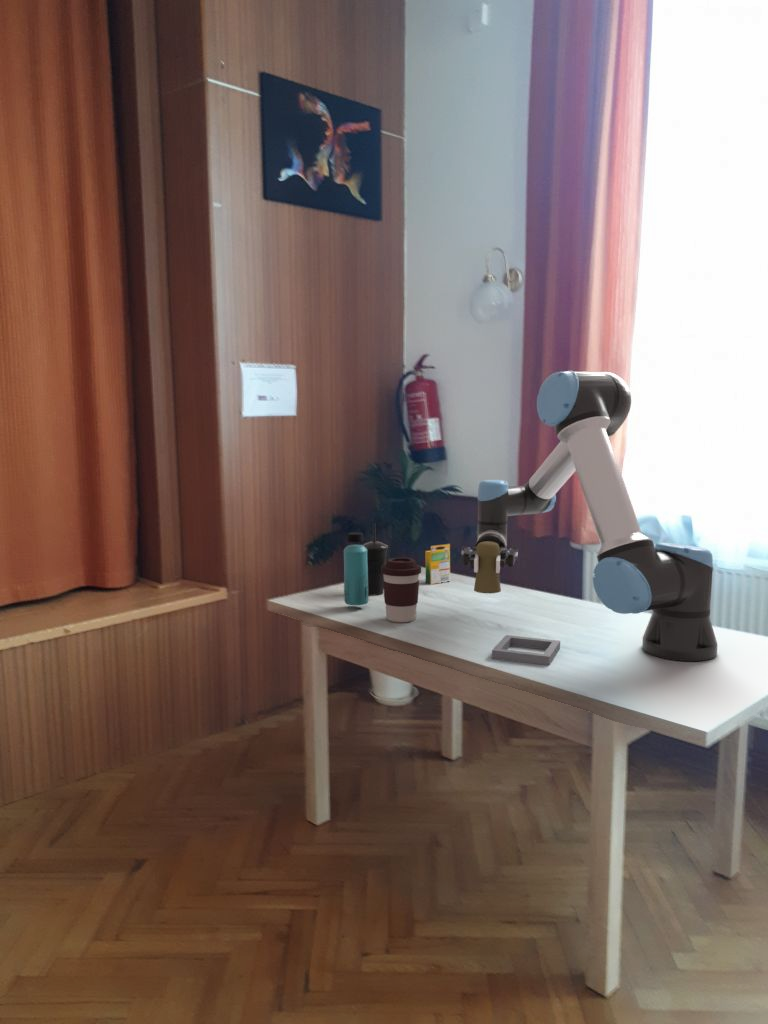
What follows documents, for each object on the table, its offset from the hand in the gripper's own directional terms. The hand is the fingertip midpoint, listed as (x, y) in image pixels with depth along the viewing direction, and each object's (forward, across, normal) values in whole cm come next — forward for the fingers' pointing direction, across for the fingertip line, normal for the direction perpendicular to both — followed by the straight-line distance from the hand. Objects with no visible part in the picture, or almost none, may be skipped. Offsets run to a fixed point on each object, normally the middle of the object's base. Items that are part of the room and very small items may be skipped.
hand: (486, 566), depth 173 cm
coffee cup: (-20, +22, -18) cm, 34 cm away
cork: (-5, 0, -7) cm, 9 cm away
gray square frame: (+4, -9, -18) cm, 20 cm away
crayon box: (-63, +17, -18) cm, 67 cm away
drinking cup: (-46, +33, -18) cm, 59 cm away
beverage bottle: (-29, +35, -18) cm, 49 cm away
